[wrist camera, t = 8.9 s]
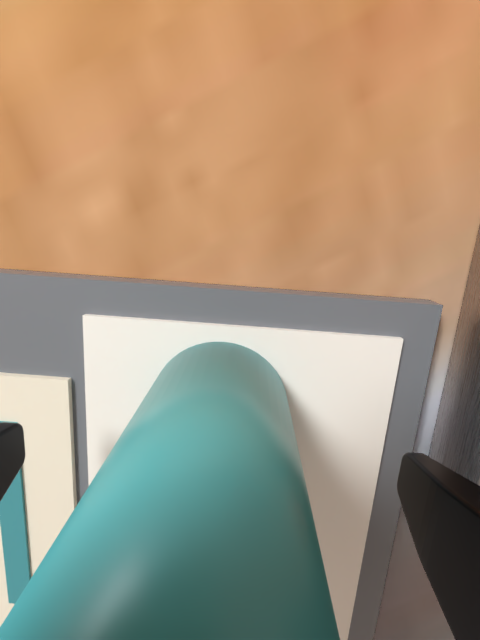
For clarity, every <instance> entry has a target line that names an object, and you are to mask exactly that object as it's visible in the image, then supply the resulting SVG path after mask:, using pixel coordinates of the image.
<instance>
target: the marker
mask: <svg viewBox="0 0 480 640" xmlns="http://www.w3.org/2000/svg"><path fill="white" fill-rule="evenodd" d="M0 640H340V637H339V632H338V628H337V623H336V619H335V614H334V610H333V605H332V601H331V596H330V591H329V587H328V582H327V578H326V573H325V569H324V564H323V560H322V555H321V550H320V546H319V541H318V537H317V532H316V528H315V523H314V519H313V514H312V509H311V505H310V500H309V496H308V491H307V487H306V482H305V478H304V473H303V468H302V464H301V459H300V455H299V450H298V446H297V441H296V436H295V432H294V427H293V423H292V418H291V414H290V409H289V405H288V400H287V395H286V391H285V388H284V385H283V382H282V380H281V378H280V376H279V375H278V373H277V371H276V370H275V369H274V367H273V366H272V365H271V364H270V363H269V362H268V361H267V360H266V359H265V358H264V357H262V356H261V355H260V354H258V353H256V352H255V351H253V350H251V349H249V348H247V347H244V346H242V345H238V344H235V343H229V342H206V343H202V344H197V345H194V346H192V347H189V348H187V349H185V350H183V351H182V352H180V353H178V354H177V355H176V356H174V357H173V358H172V359H171V360H170V361H169V362H168V363H167V364H166V365H165V367H164V368H163V369H162V371H161V372H160V374H159V375H158V377H157V379H156V380H155V382H154V383H153V385H152V387H151V388H150V390H149V391H148V393H147V394H146V396H145V398H144V399H143V401H142V402H141V404H140V406H139V407H138V409H137V410H136V412H135V414H134V415H133V417H132V418H131V420H130V422H129V423H128V425H127V426H126V428H125V429H124V431H123V433H122V434H121V436H120V437H119V439H118V441H117V442H116V444H115V445H114V447H113V449H112V450H111V452H110V453H109V455H108V457H107V458H106V460H105V461H104V463H103V464H102V466H101V468H100V469H99V471H98V472H97V474H96V476H95V477H94V479H93V480H92V482H91V484H90V485H89V487H88V488H87V490H86V492H85V493H84V495H83V496H82V498H81V499H80V501H79V503H78V504H77V506H76V507H75V509H74V511H73V512H72V514H71V515H70V517H69V519H68V520H67V522H66V523H65V525H64V527H63V528H62V530H61V531H60V533H59V534H58V536H57V538H56V539H55V541H54V542H53V544H52V546H51V547H50V549H49V550H48V552H47V554H46V555H45V557H44V558H43V560H42V562H41V563H40V565H39V566H38V568H37V569H36V571H35V573H34V574H33V576H32V577H31V579H30V581H29V582H28V584H27V585H26V587H25V589H24V590H23V592H22V593H21V595H20V597H19V598H18V600H17V601H16V603H15V604H14V606H13V608H12V609H11V611H10V612H9V614H8V616H7V617H6V619H5V620H4V622H3V624H2V625H1V627H0Z"/></svg>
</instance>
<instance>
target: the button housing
mask: <svg viewBox="0 0 480 640" xmlns="http://www.w3.org/2000/svg"><path fill="white" fill-rule="evenodd" d="M428 457H430V458H432V459H434V460H435V461H437V462H439V463H441V464H442V465H444V466H446V467H448V468H449V469H451V470H453V471H455V472H456V473H458V474H460V475H462V476H463V477H465V478H467V479H469V480H470V481H472V482H474V483H476V484H477V485H479V486H480V226H479V231H478V235H477V240H476V244H475V249H474V253H473V258H472V262H471V267H470V271H469V276H468V280H467V285H466V289H465V294H464V298H463V303H462V307H461V312H460V316H459V321H458V325H457V330H456V335H455V339H454V344H453V348H452V353H451V357H450V362H449V366H448V371H447V375H446V380H445V384H444V389H443V393H442V398H441V402H440V407H439V411H438V416H437V420H436V425H435V429H434V434H433V438H432V443H431V447H430V452H429V456H428Z"/></svg>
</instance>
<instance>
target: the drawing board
mask: <svg viewBox="0 0 480 640" xmlns="http://www.w3.org/2000/svg"><path fill="white" fill-rule="evenodd" d="M442 308H443V305H441V304H438V303H436V302H433V301H431V300H423V299H410V298H396V297H382V296H369V295H355V294H341V293H327V292H314V291H300V290H286V289H273V288H259V287H245V286H232V285H218V284H204V283H190V282H177V281H163V280H149V279H136V278H122V277H108V276H95V275H81V274H67V273H53V272H40V271H26V270H12V269H0V423H2V422H9V423H19V424H20V425H22V427H23V431H24V443H25V460H24V463H23V465H22V467H21V469H20V470H19V472H18V474H17V475H16V477H15V479H14V480H13V482H12V483H11V485H10V487H9V488H8V490H7V492H6V493H5V495H4V497H3V498H2V500H1V501H0V627H1V625H2V624H3V622H4V620H5V619H6V617H7V616H8V614H9V612H10V611H11V609H12V608H13V606H14V604H15V603H16V601H17V600H18V598H19V597H20V595H21V593H22V592H23V590H24V589H25V587H26V585H27V584H28V582H29V581H30V579H31V577H32V576H33V574H34V573H35V571H36V569H37V568H38V566H39V565H40V563H41V562H42V560H43V558H44V557H45V555H46V554H47V552H48V550H49V549H50V547H51V546H52V544H53V542H54V541H55V539H56V538H57V536H58V534H59V533H60V531H61V530H62V528H63V527H64V525H65V523H66V522H67V520H68V519H69V517H70V515H71V514H72V512H73V511H74V509H75V507H76V506H77V504H78V503H79V501H80V499H81V498H82V496H83V495H84V493H85V492H86V490H87V488H88V487H89V485H90V484H91V482H92V480H93V479H94V477H95V476H96V474H97V472H98V471H99V469H100V468H101V466H102V464H103V463H104V461H105V460H106V458H107V457H108V455H109V453H110V452H111V450H112V449H113V447H114V445H115V444H116V442H117V441H118V439H119V437H120V436H121V434H122V433H123V431H124V429H125V428H126V426H127V425H128V423H129V422H130V420H131V418H132V417H133V415H134V414H135V412H136V410H137V409H138V407H139V406H140V404H141V402H142V401H143V399H144V398H145V396H146V394H147V393H148V391H149V390H150V388H151V387H152V385H153V383H154V382H155V380H156V379H157V377H158V375H159V374H160V372H161V371H162V369H163V368H164V367H165V365H166V364H167V363H168V362H169V361H170V360H171V359H172V358H173V357H174V356H176V355H177V354H178V353H180V352H182V351H183V350H185V349H187V348H189V347H192V346H194V345H197V344H202V343H206V342H229V343H235V344H238V345H242V346H244V347H247V348H249V349H251V350H253V351H255V352H256V353H258V354H260V355H261V356H262V357H264V358H265V359H266V360H267V361H268V362H269V363H270V364H271V365H272V366H273V367H274V369H275V370H276V371H277V373H278V375H279V376H280V378H281V380H282V382H283V385H284V388H285V391H286V395H287V400H288V405H289V409H290V414H291V418H292V423H293V427H294V432H295V436H296V441H297V446H298V450H299V455H300V459H301V464H302V468H303V473H304V478H305V482H306V487H307V491H308V496H309V500H310V505H311V509H312V514H313V519H314V523H315V528H316V532H317V537H318V541H319V546H320V550H321V555H322V560H323V564H324V569H325V573H326V578H327V582H328V587H329V591H330V596H331V601H332V605H333V610H334V614H335V619H336V623H337V628H338V632H339V637H340V640H373V638H374V633H375V629H376V624H377V619H378V614H379V609H380V605H381V600H382V595H383V590H384V586H385V581H386V576H387V571H388V566H389V562H390V557H391V552H392V547H393V542H394V538H395V533H396V528H397V523H398V518H399V514H400V509H401V502H400V498H399V495H398V492H397V480H398V475H399V470H400V465H401V460H402V457H403V455H404V454H405V453H406V452H411V453H412V451H413V447H414V442H415V437H416V432H417V427H418V423H419V418H420V413H421V408H422V403H423V399H424V394H425V389H426V384H427V379H428V375H429V370H430V365H431V360H432V356H433V351H434V346H435V341H436V336H437V332H438V327H439V322H440V317H441V312H442Z"/></svg>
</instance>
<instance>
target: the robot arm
mask: <svg viewBox="0 0 480 640" xmlns="http://www.w3.org/2000/svg"><path fill="white" fill-rule="evenodd" d="M24 460H25V443H24V431H23V427H22V425H20V424H19V423H9V422H2V423H0V501H1V500H2V498H3V497H4V495H5V493H6V492H7V490H8V488H9V487H10V485H11V483H12V482H13V480H14V479H15V477H16V475H17V474H18V472H19V470H20V469H21V467H22V465H23V463H24ZM397 492H398V495H399V498H400V502H401V505H402V508H403V511H404V514H405V517H406V520H407V523H408V526H409V529H410V532H411V535H412V538H413V541H414V544H415V547H416V550H417V552H418V555H419V558H420V560H421V563H422V565H423V568H424V570H425V572H426V574H427V577H428V579H429V581H430V583H431V586H432V588H433V590H434V592H435V595H436V597H437V599H438V601H439V604H440V606H441V608H442V610H443V613H444V615H445V617H446V619H447V622H448V624H449V626H450V628H451V631H452V633H453V635H454V637H455V640H480V486H479V485H477V484H476V483H474V482H472V481H470V480H469V479H467V478H465V477H463V476H462V475H460V474H458V473H456V472H455V471H453V470H451V469H449V468H448V467H446V466H444V465H442V464H441V463H439V462H437V461H435V460H434V459H432V458H430V457H428V456H427V455H425V454H422V453H411V452H406V453H405V454H404V455H403V457H402V460H401V465H400V470H399V475H398V480H397Z"/></svg>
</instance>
